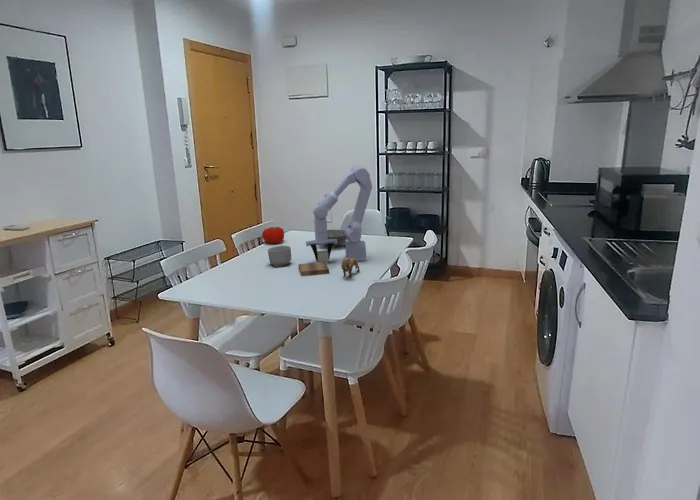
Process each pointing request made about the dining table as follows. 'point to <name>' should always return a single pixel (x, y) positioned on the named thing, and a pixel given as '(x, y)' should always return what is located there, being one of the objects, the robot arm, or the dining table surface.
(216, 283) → the dining table surface
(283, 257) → the teacup
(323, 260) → the block
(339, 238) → the bowl
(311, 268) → the base
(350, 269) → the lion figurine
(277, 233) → the tomato
